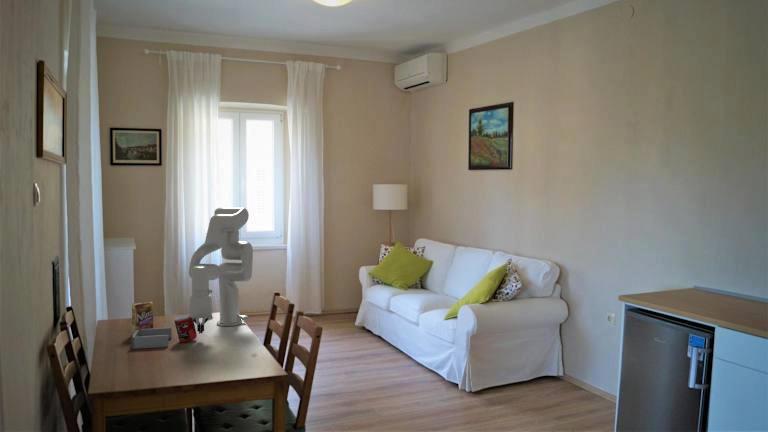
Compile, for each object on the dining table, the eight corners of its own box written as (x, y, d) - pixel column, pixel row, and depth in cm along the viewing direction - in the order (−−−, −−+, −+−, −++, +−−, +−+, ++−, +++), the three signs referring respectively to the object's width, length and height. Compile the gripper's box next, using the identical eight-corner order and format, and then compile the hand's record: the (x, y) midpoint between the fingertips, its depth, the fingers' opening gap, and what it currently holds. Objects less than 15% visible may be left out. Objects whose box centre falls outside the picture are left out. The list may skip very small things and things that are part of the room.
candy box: (135, 337, 276) (134, 304, 276) (131, 335, 279) (131, 303, 279) (154, 333, 282) (153, 302, 282) (150, 332, 286) (149, 301, 285)
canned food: (175, 342, 267) (170, 319, 266) (188, 335, 274) (183, 313, 273) (187, 342, 264) (182, 319, 262) (200, 336, 271) (195, 313, 269)
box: (171, 338, 274) (171, 327, 274) (168, 346, 260) (168, 335, 260) (137, 340, 271) (137, 329, 270) (131, 348, 256) (131, 337, 256)
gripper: (217, 291, 275) (217, 330, 275) (183, 292, 271) (184, 332, 271) (217, 293, 267) (217, 333, 268) (182, 295, 263) (183, 335, 264)
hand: (200, 332), depth 270 cm, fingers closed
